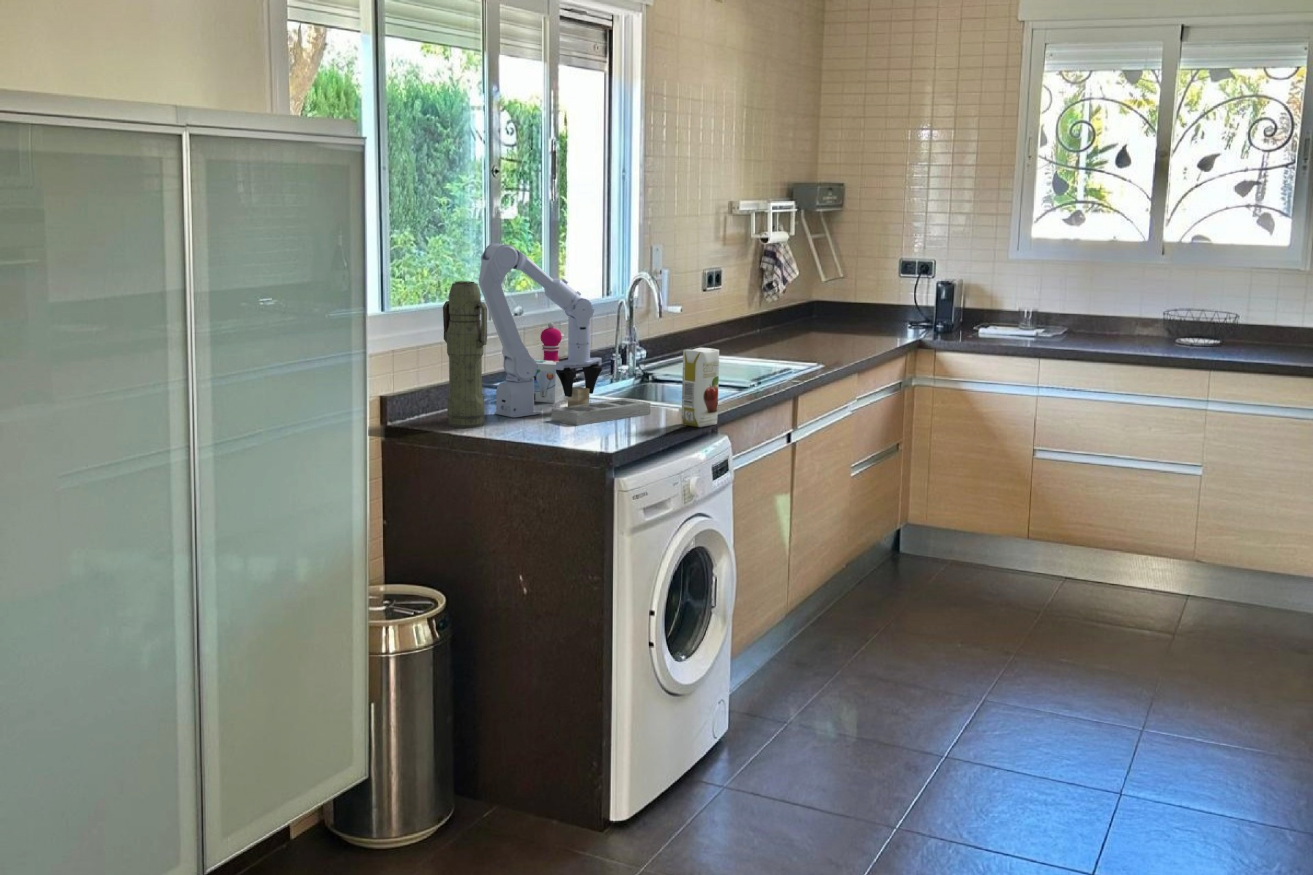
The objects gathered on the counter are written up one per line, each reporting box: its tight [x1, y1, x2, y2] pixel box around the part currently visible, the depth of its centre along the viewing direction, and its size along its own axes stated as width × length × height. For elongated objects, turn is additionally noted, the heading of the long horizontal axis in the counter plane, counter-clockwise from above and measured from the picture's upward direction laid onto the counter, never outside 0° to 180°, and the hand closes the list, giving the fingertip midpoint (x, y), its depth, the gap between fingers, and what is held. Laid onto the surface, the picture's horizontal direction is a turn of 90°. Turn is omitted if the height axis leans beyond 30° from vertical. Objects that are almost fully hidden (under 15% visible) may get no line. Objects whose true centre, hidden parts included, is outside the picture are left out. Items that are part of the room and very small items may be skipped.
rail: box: [551, 397, 651, 427], centre depth 336 cm, size 26×10×3 cm, turn 136°
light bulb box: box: [534, 359, 565, 404], centre depth 360 cm, size 11×7×11 cm, turn 73°
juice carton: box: [681, 347, 720, 428], centre depth 327 cm, size 8×9×19 cm
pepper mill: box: [540, 322, 563, 361], centre depth 373 cm, size 7×7×20 cm
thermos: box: [442, 280, 488, 429], centre depth 319 cm, size 9×12×35 cm
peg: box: [567, 386, 590, 406], centre depth 344 cm, size 4×4×6 cm
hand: (578, 394), depth 344 cm, fingers open, 7 cm apart
